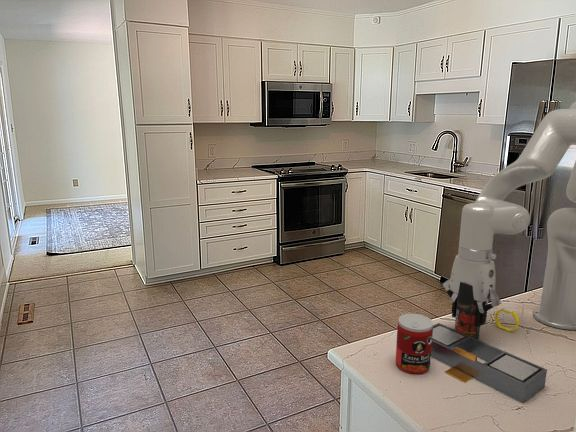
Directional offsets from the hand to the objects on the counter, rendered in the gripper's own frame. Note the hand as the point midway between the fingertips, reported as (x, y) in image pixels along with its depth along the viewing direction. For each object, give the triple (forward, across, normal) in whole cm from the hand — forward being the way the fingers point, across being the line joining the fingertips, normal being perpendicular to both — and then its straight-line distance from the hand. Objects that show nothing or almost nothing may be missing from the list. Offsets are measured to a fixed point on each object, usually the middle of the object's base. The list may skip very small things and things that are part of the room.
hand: (467, 319), depth 113 cm
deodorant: (+5, 0, 0) cm, 5 cm away
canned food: (+5, 0, +22) cm, 23 cm away
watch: (+5, -4, -12) cm, 14 cm away
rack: (+5, -9, +13) cm, 16 cm away
